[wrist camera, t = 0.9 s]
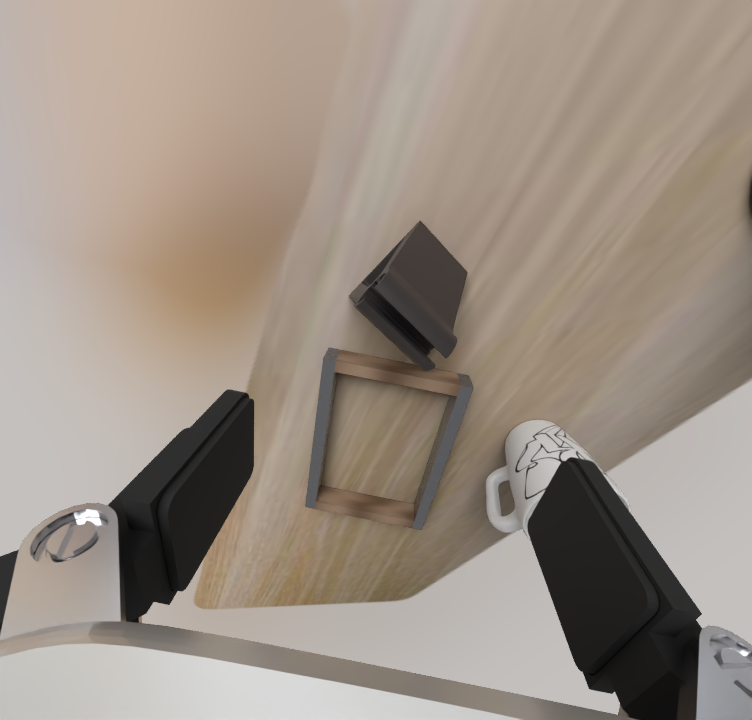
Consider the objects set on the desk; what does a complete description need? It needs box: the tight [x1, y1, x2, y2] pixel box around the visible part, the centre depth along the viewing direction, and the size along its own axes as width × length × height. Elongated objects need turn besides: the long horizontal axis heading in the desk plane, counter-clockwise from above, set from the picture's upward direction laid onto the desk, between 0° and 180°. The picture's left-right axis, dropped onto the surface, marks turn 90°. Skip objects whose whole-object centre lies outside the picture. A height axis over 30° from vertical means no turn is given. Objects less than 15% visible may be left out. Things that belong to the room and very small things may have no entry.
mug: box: [486, 420, 631, 541], centre depth 32 cm, size 11×8×10 cm
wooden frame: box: [305, 348, 473, 530], centre depth 37 cm, size 14×20×2 cm
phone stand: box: [349, 221, 467, 371], centre depth 24 cm, size 9×6×12 cm, turn 136°
